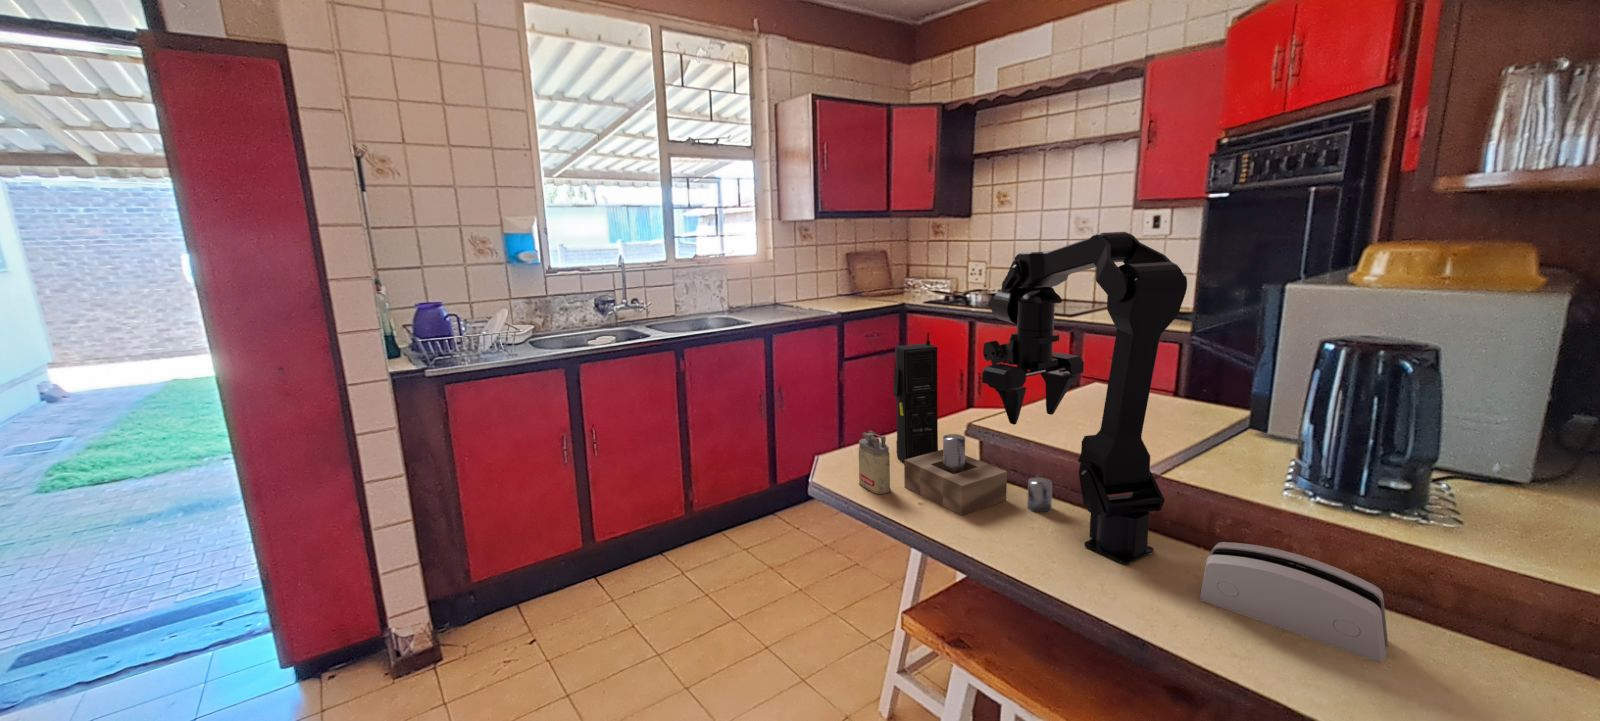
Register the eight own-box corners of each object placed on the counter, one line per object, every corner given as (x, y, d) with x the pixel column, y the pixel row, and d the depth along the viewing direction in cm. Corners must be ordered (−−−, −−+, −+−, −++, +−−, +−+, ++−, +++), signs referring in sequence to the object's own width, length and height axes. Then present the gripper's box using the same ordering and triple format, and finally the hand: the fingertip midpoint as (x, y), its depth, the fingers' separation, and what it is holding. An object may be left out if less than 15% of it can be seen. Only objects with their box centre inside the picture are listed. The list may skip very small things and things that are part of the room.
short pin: (1056, 509, 101) (1057, 482, 100) (1040, 515, 100) (1042, 488, 99) (1037, 501, 104) (1038, 475, 103) (1022, 506, 103) (1023, 480, 102)
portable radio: (902, 467, 121) (901, 338, 116) (890, 457, 127) (888, 333, 122) (940, 462, 123) (941, 335, 118) (926, 452, 129) (926, 330, 123)
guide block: (1006, 500, 105) (1007, 471, 104) (961, 515, 100) (961, 485, 99) (947, 474, 117) (947, 448, 116) (904, 486, 112) (904, 459, 111)
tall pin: (969, 494, 108) (969, 438, 106) (953, 499, 106) (953, 442, 104) (954, 487, 111) (954, 432, 109) (938, 492, 109) (938, 436, 107)
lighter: (855, 482, 115) (853, 429, 113) (872, 478, 117) (871, 426, 115) (877, 496, 109) (877, 440, 107) (895, 491, 111) (895, 436, 109)
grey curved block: (1390, 641, 68) (1400, 573, 63) (1382, 675, 65) (1393, 606, 61) (1210, 582, 80) (1208, 521, 76) (1197, 608, 77) (1195, 547, 73)
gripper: (1034, 317, 117) (1031, 399, 120) (958, 329, 108) (957, 417, 111) (1088, 324, 107) (1083, 413, 110) (1010, 337, 98) (1007, 434, 101)
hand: (1031, 418), depth 108 cm, fingers open, 9 cm apart
